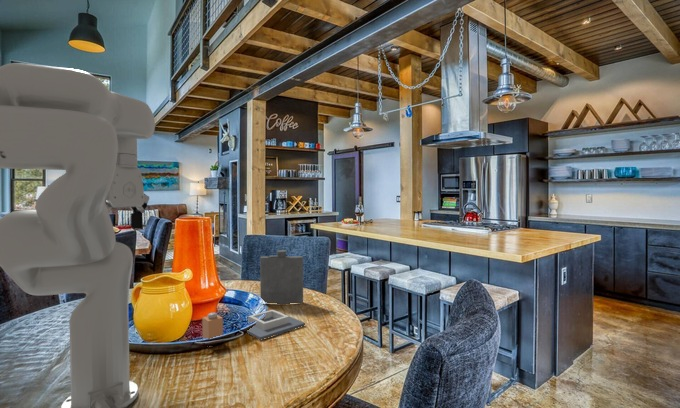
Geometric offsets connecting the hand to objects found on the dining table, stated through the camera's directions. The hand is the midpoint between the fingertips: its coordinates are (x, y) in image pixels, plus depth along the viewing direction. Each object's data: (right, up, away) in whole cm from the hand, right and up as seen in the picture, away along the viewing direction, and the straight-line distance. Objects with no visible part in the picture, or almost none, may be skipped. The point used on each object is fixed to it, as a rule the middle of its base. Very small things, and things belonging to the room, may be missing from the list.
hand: (121, 230), depth 89 cm
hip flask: (+33, -31, +43) cm, 63 cm away
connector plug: (+20, -32, +8) cm, 38 cm away
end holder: (+33, -31, +21) cm, 50 cm away
